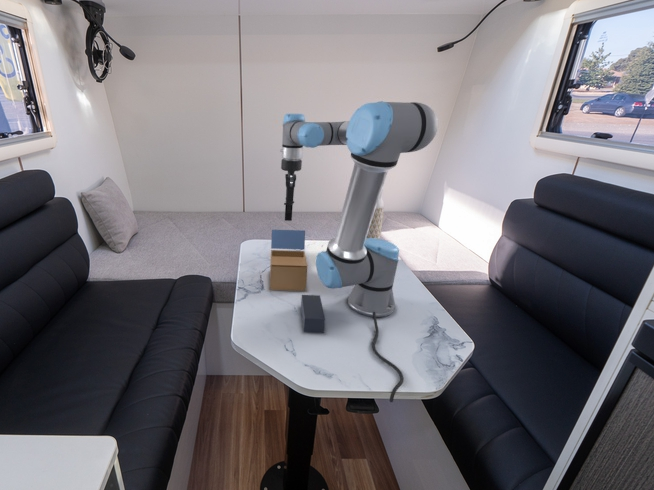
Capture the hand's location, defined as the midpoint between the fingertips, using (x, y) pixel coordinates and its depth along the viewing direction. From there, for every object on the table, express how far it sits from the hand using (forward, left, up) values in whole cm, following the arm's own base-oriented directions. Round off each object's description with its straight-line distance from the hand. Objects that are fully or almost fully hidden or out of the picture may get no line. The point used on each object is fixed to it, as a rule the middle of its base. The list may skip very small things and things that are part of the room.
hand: (288, 220), depth 147 cm
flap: (-7, 0, -6) cm, 9 cm away
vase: (+9, -33, -20) cm, 39 cm away
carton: (-15, 0, -19) cm, 25 cm away
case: (-41, -7, -19) cm, 46 cm away
